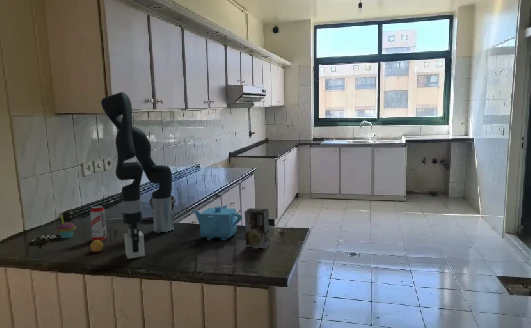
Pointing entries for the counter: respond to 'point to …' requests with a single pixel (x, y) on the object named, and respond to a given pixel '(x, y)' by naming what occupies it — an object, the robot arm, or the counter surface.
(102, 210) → the beer can
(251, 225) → the coffee box
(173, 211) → the flowerpot
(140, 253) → the grey rectangular block
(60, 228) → the cupcake
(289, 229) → the counter surface
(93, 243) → the ball
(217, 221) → the teakettle
